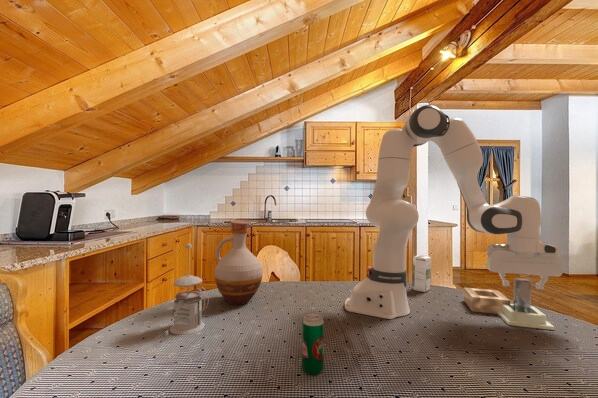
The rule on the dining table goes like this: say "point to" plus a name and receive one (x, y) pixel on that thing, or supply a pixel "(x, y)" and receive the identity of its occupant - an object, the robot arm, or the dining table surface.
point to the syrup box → (421, 273)
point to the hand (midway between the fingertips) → (522, 287)
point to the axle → (522, 295)
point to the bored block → (485, 300)
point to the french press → (188, 305)
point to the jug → (238, 268)
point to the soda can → (312, 344)
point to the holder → (524, 318)
